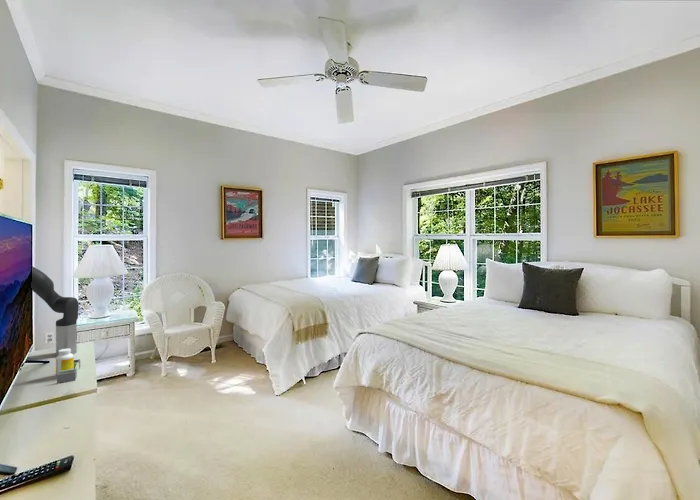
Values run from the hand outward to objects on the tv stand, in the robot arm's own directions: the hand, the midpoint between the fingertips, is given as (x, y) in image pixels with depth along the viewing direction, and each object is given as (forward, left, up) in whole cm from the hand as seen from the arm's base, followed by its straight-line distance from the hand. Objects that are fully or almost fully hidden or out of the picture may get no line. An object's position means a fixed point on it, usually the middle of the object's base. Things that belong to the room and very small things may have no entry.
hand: (17, 350), depth 153 cm
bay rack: (0, +18, -15) cm, 24 cm away
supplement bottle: (0, +17, -15) cm, 23 cm away
